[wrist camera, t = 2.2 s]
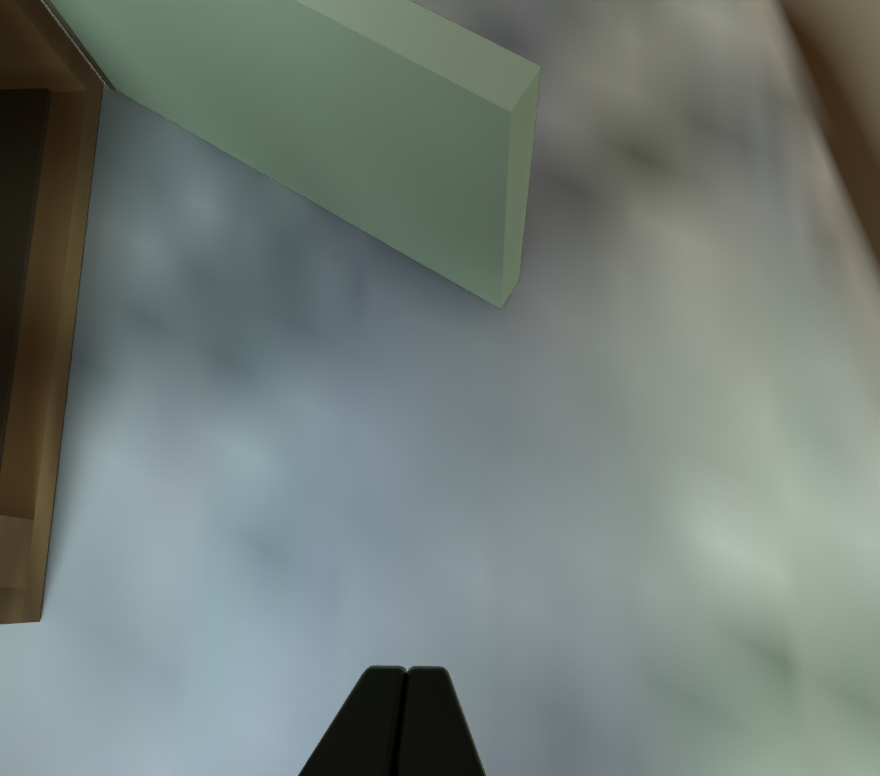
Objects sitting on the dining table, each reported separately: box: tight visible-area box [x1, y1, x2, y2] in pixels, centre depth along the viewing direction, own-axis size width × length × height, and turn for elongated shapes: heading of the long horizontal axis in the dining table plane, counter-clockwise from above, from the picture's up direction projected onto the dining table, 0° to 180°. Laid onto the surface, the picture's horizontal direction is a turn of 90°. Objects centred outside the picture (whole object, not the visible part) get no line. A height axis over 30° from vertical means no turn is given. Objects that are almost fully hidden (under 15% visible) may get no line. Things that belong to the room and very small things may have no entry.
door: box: [44, 0, 541, 309], centre depth 18 cm, size 13×2×9 cm, turn 58°
